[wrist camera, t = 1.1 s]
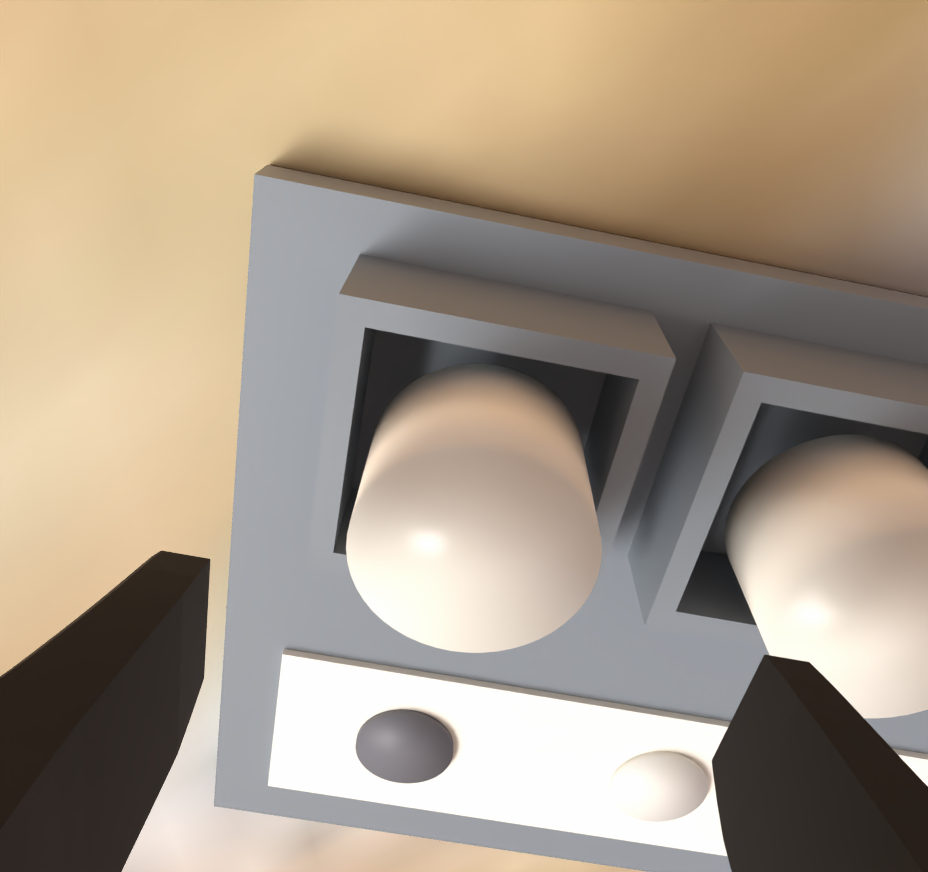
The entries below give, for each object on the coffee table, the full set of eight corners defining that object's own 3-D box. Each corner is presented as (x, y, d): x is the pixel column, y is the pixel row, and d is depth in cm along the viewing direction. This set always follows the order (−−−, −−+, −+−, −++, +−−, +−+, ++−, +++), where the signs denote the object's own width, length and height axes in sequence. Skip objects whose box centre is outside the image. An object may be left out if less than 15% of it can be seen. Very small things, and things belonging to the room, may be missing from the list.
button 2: (554, 562, 16) (565, 670, 14) (359, 528, 16) (332, 630, 13) (607, 386, 14) (633, 471, 12) (387, 344, 14) (363, 422, 12)
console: (977, 892, 26) (1041, 1009, 23) (224, 777, 24) (186, 886, 21) (1388, 390, 17) (1577, 471, 14) (267, 164, 16) (215, 202, 13)
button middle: (882, 619, 17) (954, 734, 14) (696, 587, 16) (735, 698, 14) (975, 456, 15) (1080, 553, 12) (768, 416, 15) (828, 507, 12)
